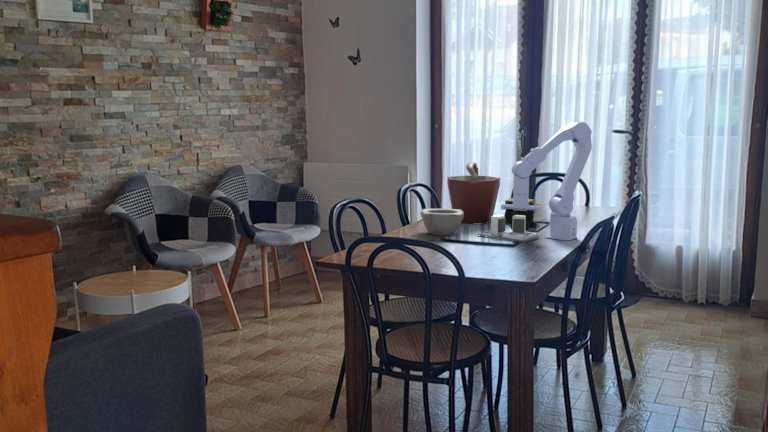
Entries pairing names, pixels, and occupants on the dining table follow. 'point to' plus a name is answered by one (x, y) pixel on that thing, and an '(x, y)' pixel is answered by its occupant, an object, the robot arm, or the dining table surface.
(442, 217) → the mortar
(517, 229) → the white matte cuboid
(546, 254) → the dining table surface
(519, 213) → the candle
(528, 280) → the dining table surface
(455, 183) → the bucket
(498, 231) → the grey hollow box
